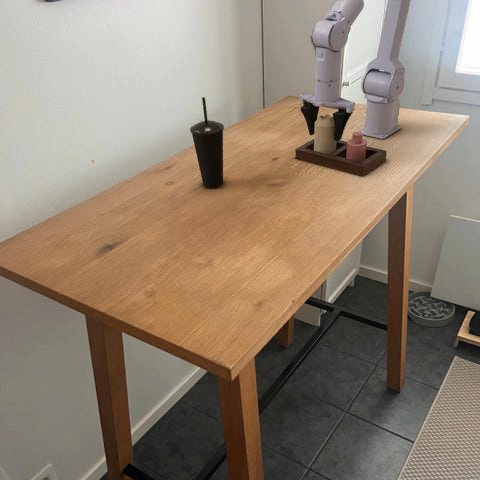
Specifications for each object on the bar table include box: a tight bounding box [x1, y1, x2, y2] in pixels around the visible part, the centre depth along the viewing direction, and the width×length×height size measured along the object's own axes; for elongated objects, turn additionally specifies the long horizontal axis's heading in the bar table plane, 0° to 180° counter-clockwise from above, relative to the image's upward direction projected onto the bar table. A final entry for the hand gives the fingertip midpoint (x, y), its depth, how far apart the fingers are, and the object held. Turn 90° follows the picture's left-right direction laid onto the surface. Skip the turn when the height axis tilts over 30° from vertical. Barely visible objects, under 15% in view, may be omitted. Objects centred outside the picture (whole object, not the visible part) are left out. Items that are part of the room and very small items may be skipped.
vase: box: [346, 131, 368, 162], centre depth 122 cm, size 5×5×8 cm
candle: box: [313, 114, 336, 154], centre depth 127 cm, size 6×6×10 cm
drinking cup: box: [189, 96, 225, 190], centre depth 115 cm, size 8×8×20 cm
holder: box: [295, 138, 388, 177], centre depth 126 cm, size 11×20×3 cm, turn 48°
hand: (325, 136), depth 127 cm, fingers open, 7 cm apart
